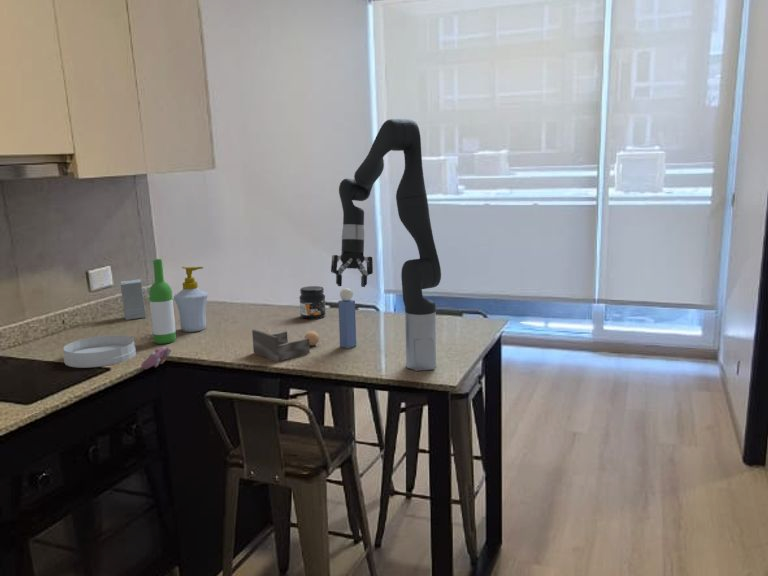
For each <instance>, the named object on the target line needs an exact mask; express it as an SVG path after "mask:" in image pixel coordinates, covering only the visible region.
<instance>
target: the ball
mask: <svg viewBox="0 0 768 576" xmlns="http://www.w3.org/2000/svg"><path fill="white" fill-rule="evenodd" d="M306 338H309V345H310V346H311V347H314V346H316V345H317V344H318V343H319V341H320V337H319V335H318V333H317V332H315V331H311V330H310V331H307V332H306V334H305V336H304V339H306Z"/></svg>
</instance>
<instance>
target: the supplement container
mask: <svg viewBox="0 0 768 576" xmlns="http://www.w3.org/2000/svg"><path fill="white" fill-rule="evenodd" d="M299 291H300V292H299V312H300V314H299V315H300V317H301V318H302V319H304V318H306V319H305V320H318V319H317V318H319V319H322V318H324V317H325V316H326V314H327V313H326V295H325V294H324V287H323V286H319V285H318V286H317V285H315V286H312V285H310V286H304V287H301V288H300V290H299Z"/></svg>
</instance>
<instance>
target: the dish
mask: <svg viewBox="0 0 768 576" xmlns="http://www.w3.org/2000/svg"><path fill="white" fill-rule="evenodd" d="M136 355H137V352H136V345H135V338H133V337H132V336H128V335H123V334H122V335H119V334H118V335H115V334H112V335H111V334H110V335H100V336H99V335H98V336H93V337H92V336H91V337H86V338H82V339H77V340H75V341H72V342H70V343H67V344H66V345H65V346H63V361H64V364H65V365H66V366H68V367H70V368H71V367H72V368H80V369H81V368H84V369H85V368H86V369H87V368H99V367H107V366H112V365H116V364H118V363H119V364H120V363H122V362H125V361H128V360H130V359H132V358H134V357H135V356H136Z"/></svg>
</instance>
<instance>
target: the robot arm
mask: <svg viewBox="0 0 768 576" xmlns="http://www.w3.org/2000/svg"><path fill="white" fill-rule="evenodd" d="M418 125H419V124H418V123H417V121H415V120H414V119H410V118H408V119H407V118H391V119H387V120H386V121H384V123H382V124H381V126H380V128H379V129H378V133H377V134H376V136H375V138H374V141H373V143H372V145H371V147H370V149H369V151H368V154H367V155H366V157H365V158H364V160H363V161H362V163H360V165H359V167H357V169H356V170H355V172H354V176H353V178H344V179H342V180H341V181H340V183H339V186H338V194H339V198H340V203H341V208H342V212H343V216H342V217H343V219H342V232H341V253H340V254H341V255H337V254H333V255H332V256H331V265H330V272H331V274H335V284H336V285H337V286H338V287H342V284H343V283H342V282H343V275H342V274H343V272H345V270H346V269H357V270H358V271H359V273H360V274H361V276H360V281H361V282H360V286H361V288H365V287H366V286H367V284H368V276H370V275H372V274H373V271H374V270H373V268H374V267H373V266H374V265H373V264H374V262H373V256H364V253H365V211H364V210H365V209H363V208H361V207H359V206H356V205H355V204H354V201H356V202H357V201H358V202H364V201H366V200H368V198H369V197H370V196H371V192H372V189H373V186H374V184H375V183H376V181H377V180H378V179H379V178H380V177H381V176H382V173H383V171H384V167H385V163H384V162H385V160H384V157H385V156H386V155H387V154H388V153H389V152H390V151H393V152H394V151H395V152H397V151H398V152H399V151H401V152H403V155H404V171H403V174H402V176H401V179H400V181H399V184H398V186H397V189H396V194H395V201H396V207H397V212H398V218H399V220H400V222H401V224H402V225H403V226H404V228H405V229H406V231H408V233H409V234H410V235H411V237H412V238H413V241H414V242H415V245H416V246H417V249H418V250H417V251H418V256H419V258H414V259H408V260H406V261H405V262H404V263H403V264H402V267H401V273H400V274H401V277H400V278H401V291H402V302H403V305H404V311H405V312H404V314H405V315H404V320H405V322H404V324H405V325H404V326H405V328H404V331H405V366H406V368H407V369H409V370H410V369H411V370H413V371H415V372H418V371H419V372H420V371H431V370H435V369H436V366H437V331H436V330H437V326H436V324H437V323H436V320H437V319H436V317H437V314H436V310H437V309H436V308H437V307H436V302H435V301H433V300H432V299H427V298H425V297H424V296H423V290H426V289H433V288H436V287H438V286H439V284H441V283H440V282H441V280H442V279H441V278H442V271H441V270H442V269H441V265H440V259H439V256H438V252H437V248H436V245H435V241H434V235H433V234H434V233H433V230H432V224H431V218H430V217H431V216H430V210H429V202H428V195H427V191H426V184H425V178H424V169H423V158H422V157H423V155H422V138H421V133H420V132H421V131H420V128H419V126H418ZM340 261H341V264H340V266H339V267H338V263H339V262H340ZM364 261H365V263H366V268H365V266H364V264H363V263H364Z"/></svg>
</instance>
